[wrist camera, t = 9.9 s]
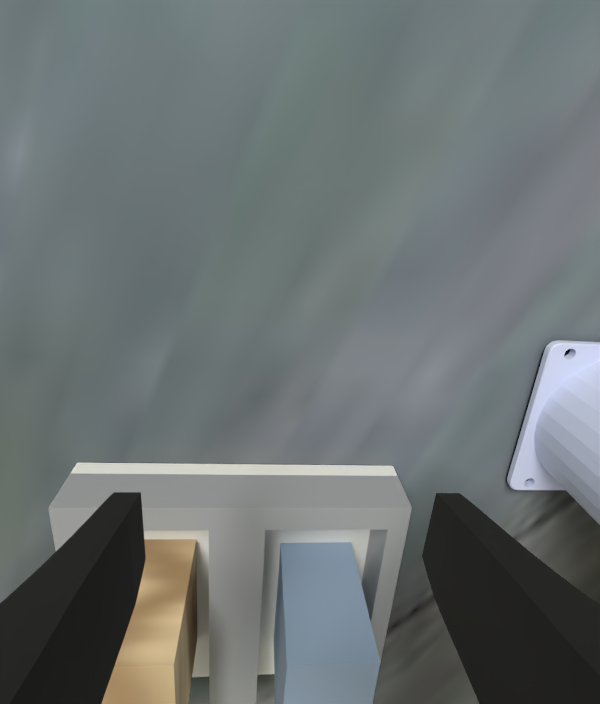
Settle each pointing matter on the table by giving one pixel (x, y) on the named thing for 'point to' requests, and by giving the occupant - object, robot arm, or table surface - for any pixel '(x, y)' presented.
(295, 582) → the slate-blue plug block
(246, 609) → the grey socket board
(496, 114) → the table surface
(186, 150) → the table surface
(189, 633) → the maple plug block
